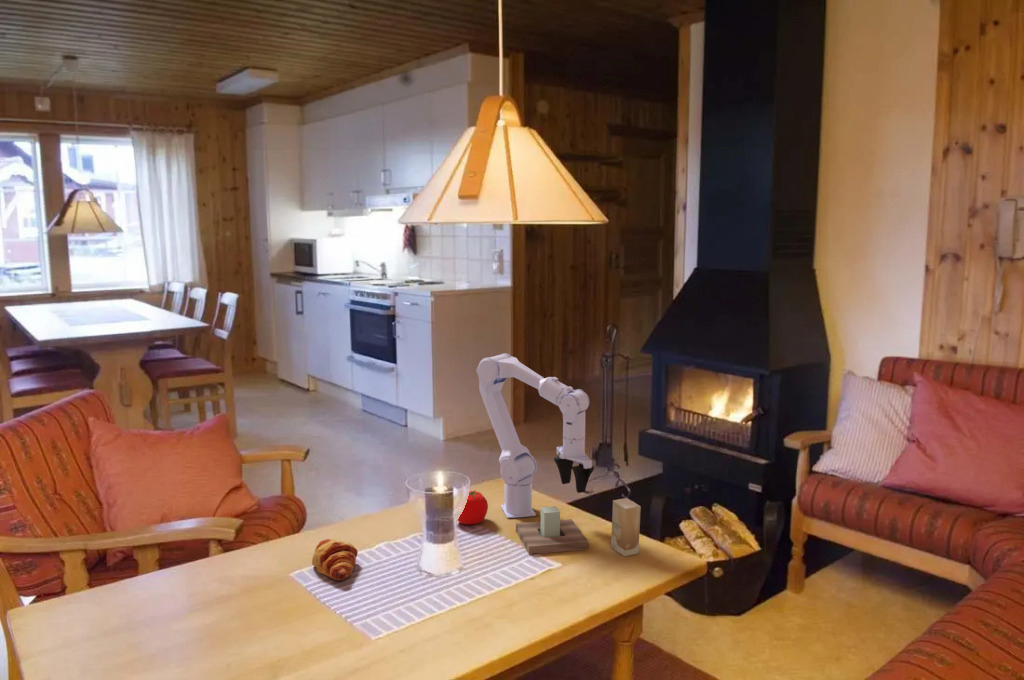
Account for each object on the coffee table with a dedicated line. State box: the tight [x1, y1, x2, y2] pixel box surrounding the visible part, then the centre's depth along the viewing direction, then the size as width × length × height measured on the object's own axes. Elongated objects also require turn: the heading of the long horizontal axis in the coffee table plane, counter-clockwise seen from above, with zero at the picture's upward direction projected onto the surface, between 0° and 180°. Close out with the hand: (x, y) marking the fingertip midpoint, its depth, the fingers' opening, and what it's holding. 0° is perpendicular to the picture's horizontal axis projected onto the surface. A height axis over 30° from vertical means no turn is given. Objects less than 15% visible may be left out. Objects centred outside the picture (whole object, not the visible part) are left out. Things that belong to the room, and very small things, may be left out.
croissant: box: [311, 538, 358, 581], centre depth 182 cm, size 21×10×8 cm, turn 24°
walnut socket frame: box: [515, 518, 590, 555], centre depth 197 cm, size 15×15×2 cm
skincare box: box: [610, 497, 642, 557], centre depth 190 cm, size 6×4×12 cm
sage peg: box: [540, 505, 561, 538], centre depth 197 cm, size 4×4×8 cm
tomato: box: [457, 490, 489, 526], centre depth 209 cm, size 9×10×8 cm
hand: (573, 487), depth 205 cm, fingers open, 7 cm apart
